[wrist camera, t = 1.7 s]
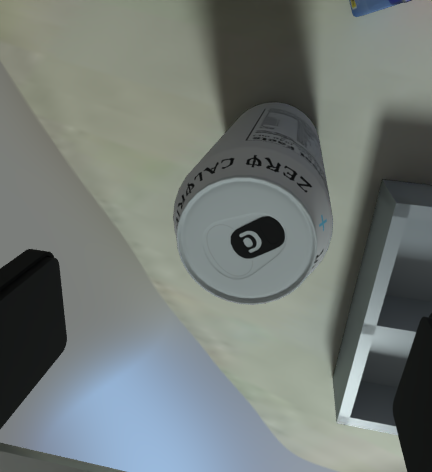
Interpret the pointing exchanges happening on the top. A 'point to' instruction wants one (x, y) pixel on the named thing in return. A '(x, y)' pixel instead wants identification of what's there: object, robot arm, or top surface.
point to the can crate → (386, 307)
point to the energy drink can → (256, 208)
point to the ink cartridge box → (371, 5)
